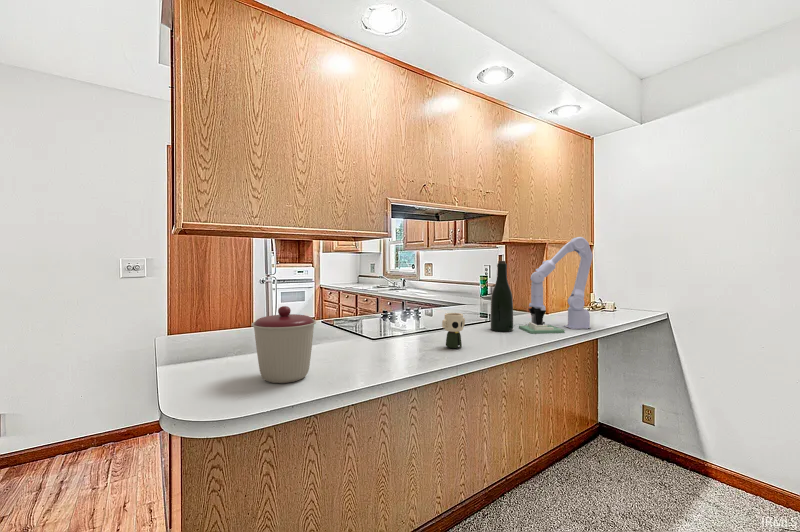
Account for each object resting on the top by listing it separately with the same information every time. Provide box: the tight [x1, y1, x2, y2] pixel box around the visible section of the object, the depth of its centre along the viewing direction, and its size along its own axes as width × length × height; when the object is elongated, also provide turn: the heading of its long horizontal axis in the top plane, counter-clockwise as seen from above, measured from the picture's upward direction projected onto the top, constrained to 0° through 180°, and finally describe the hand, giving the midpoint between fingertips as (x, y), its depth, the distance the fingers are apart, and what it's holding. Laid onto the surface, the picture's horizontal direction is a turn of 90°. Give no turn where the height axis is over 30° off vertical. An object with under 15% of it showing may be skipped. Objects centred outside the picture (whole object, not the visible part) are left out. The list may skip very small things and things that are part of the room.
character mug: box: [441, 312, 466, 349], centre depth 158 cm, size 11×7×13 cm, turn 122°
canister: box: [251, 305, 317, 384], centre depth 119 cm, size 18×18×21 cm
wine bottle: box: [489, 260, 514, 333], centre depth 194 cm, size 10×10×33 cm
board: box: [518, 321, 566, 335], centre depth 193 cm, size 16×14×4 cm
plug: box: [531, 313, 546, 325], centre depth 204 cm, size 6×4×6 cm, turn 96°
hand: (537, 323), depth 204 cm, fingers closed on plug, 4 cm apart
